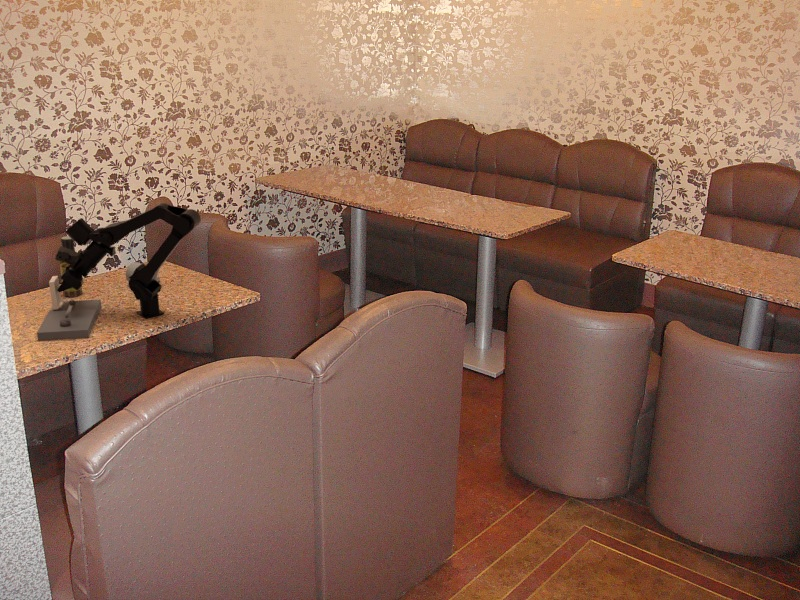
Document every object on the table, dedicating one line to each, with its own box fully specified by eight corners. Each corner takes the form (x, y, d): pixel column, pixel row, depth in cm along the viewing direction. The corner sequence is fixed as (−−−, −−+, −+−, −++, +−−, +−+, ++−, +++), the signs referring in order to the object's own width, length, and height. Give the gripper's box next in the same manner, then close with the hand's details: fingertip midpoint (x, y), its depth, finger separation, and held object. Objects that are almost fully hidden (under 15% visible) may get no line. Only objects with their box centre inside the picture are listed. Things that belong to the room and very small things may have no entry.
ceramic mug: (142, 290, 273) (140, 269, 270) (126, 285, 277) (124, 264, 274) (165, 282, 281) (164, 261, 279) (149, 278, 285) (148, 257, 283)
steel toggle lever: (70, 317, 236) (76, 300, 235) (69, 319, 234) (75, 302, 233) (64, 315, 235) (70, 297, 234) (62, 317, 234) (69, 300, 232)
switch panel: (101, 306, 257) (100, 296, 256) (88, 337, 233) (87, 326, 232) (55, 309, 254) (54, 298, 253) (37, 340, 230) (36, 328, 229)
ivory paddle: (64, 302, 252) (60, 275, 249) (60, 309, 247) (56, 281, 244) (54, 303, 252) (50, 276, 248) (50, 309, 246) (46, 282, 243)
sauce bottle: (63, 298, 264) (55, 240, 257) (63, 292, 269) (55, 235, 262) (83, 296, 266) (76, 239, 259) (83, 290, 271) (76, 234, 264)
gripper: (75, 230, 251) (43, 265, 253) (64, 247, 234) (29, 284, 236) (104, 253, 256) (72, 287, 257) (95, 271, 239) (61, 307, 240)
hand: (58, 291), depth 248 cm, fingers closed, pressing on ivory paddle
